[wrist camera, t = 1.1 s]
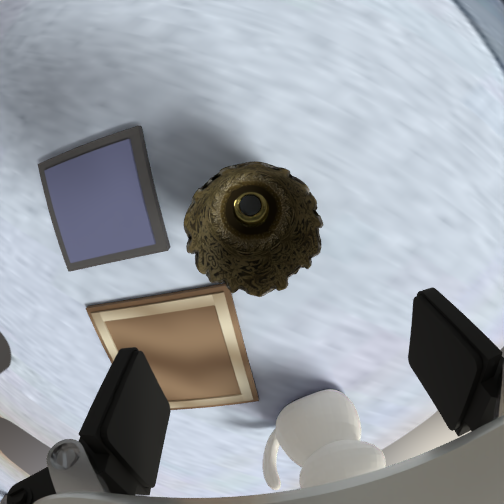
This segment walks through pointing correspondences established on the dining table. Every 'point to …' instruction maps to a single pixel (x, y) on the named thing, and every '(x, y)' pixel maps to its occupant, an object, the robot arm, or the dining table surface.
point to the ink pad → (104, 201)
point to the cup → (253, 228)
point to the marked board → (183, 344)
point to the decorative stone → (4, 500)
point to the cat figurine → (321, 441)
